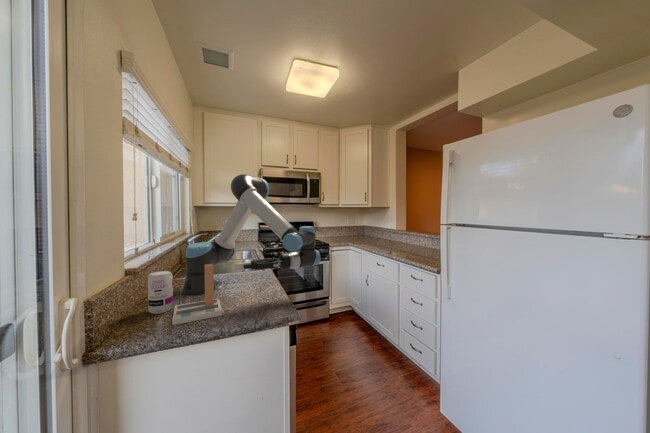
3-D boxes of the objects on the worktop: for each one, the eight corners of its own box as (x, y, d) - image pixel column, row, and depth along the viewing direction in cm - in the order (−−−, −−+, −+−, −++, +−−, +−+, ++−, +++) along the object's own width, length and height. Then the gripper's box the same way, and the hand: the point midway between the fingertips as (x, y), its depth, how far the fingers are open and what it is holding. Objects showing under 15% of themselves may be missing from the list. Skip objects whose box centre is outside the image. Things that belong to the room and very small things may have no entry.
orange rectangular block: (204, 304, 95) (204, 264, 95) (213, 302, 97) (212, 263, 96) (205, 307, 92) (205, 266, 91) (213, 306, 93) (213, 265, 93)
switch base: (175, 310, 95) (175, 302, 95) (218, 302, 102) (218, 296, 102) (172, 325, 82) (172, 316, 82) (222, 315, 90) (222, 307, 90)
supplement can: (169, 304, 101) (168, 269, 100) (176, 309, 95) (175, 272, 95) (145, 310, 94) (145, 273, 94) (151, 316, 89) (151, 277, 89)
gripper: (293, 271, 104) (237, 280, 92) (284, 266, 115) (232, 272, 104) (293, 255, 104) (237, 261, 92) (283, 250, 115) (232, 255, 104)
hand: (235, 267), depth 98 cm, fingers closed
